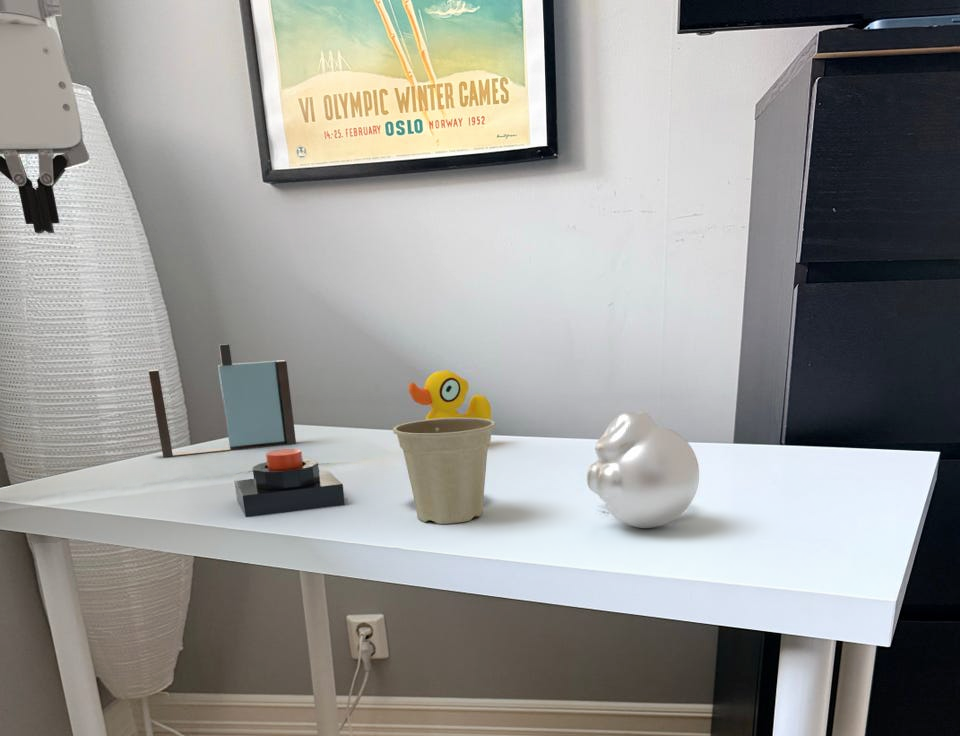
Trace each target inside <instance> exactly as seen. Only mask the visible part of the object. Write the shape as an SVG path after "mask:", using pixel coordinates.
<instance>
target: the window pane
mask: <svg viewBox="0 0 960 736" xmlns="http://www.w3.org/2000/svg"><path fill="white" fill-rule="evenodd" d="M218 348H219V349H218V350H219V356H220V362H221V364H219V365H220V366H219V370H218V372H219V371H220V377H219V379H220V378H221V384H220V386H221V385H222V390H221V392H222V391H223V397H222V399H223V398H224V404H223V406H224V405H225V411H224V413H225V412H226V418H225V420H226V419H227V425H226V427H227V426H228V432H227V434H228V433H229V439H228V441H229V440H230V446H231V447H234V446H244V445H254V444H264V443H274V442H284V433H283V425H282V417H281V409H280V401H279V393H278V384H277V376H276V368H275V362H274V361H275V360H272V361H273V362H265V361H259V362H260V363H252V362H246V363H247V364H238V363H233V362H232V353H231V345H230V344H229V343H222V344H221V343H220V344H218ZM232 364H233V365H232ZM230 446H229V447H230Z"/></svg>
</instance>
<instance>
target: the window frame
mask: <svg viewBox="0 0 960 736" xmlns="http://www.w3.org/2000/svg"><path fill="white" fill-rule="evenodd" d="M273 361H274V362H275V368H276V376H277V384H278V393H279V401H280V409H281V417H282V425H283V433H284V442H274V443H264V444H254V445H244V446H234V447H231V446H230V440H229V433H228V426H227V419H226V412H225V405H224V398H223V391H222V385H221V378H220V371H219V366H220V365H221V364H218V365H217V369H218V370H217V371H218V377H219V384H220V390H221V397H222V404H223V411H224V417H225V423H226V424H225V425H226V430H227V431H226V432H227V438H228V445H229V447H218V448H209V449H199V450H190V451H179V452H173V448H172V443H171V435H170V430H169V423H168V418H167V411H166V405H165V401H164V394H163V388H162V383H161V377H160V376H161V375H160V371H159V369H148V377H149V384H150V389H151V395H152V401H153V406H154V412H155V418H156V424H157V431H158V436H159V442H160V447H161V453H162V458H163V459H164V458H173V457H174V458H175V457H183V456H193V455H194V456H195V455H203V454H205V455H206V454H214V453H222V452H224V453H225V452H232V451H234V452H235V451H243V450H254V449H263V448H264V449H265V448H272V447H273V448H274V447H283V446H291V445H292V446H293V445H297V440H296V430H295V421H294V414H293V404H292V396H291V388H290V379H289V371H288V364H287V362H288V361H287V360H285V359H279V360H277V359H276V360H267V361H264V362H273ZM260 362H261V361H253V362H251V363H260ZM247 363H248V362H239V363H237V364H247ZM233 364H234V363H232V365H233Z"/></svg>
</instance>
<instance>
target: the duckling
mask: <svg viewBox="0 0 960 736" xmlns="http://www.w3.org/2000/svg"><path fill="white" fill-rule="evenodd" d="M469 386H470V385H469V382H468V381H467V380H466V379H465V378H463V377H461V376H460V375H458V374H457V373H455V372H453V371H451V370H449V369H448V370H447V369H445V370H438V371H435V372H433V373H432V374H430V375H429V376H428V377H427V378H426V380H425V382H424V388H421V387H419V386H417V384H416V383H415V382H410V383H409V385H408V392H409V395H410V397H411V399H412V400H413V401H414V402H415V403H417V404H419V405H421V406H430V408H431V410H430V411H429V412H428V414H427V415H426V417H425V419H424V420H430V419H438V418H482V419H489V420H492V407H491V404H490V402H489V401H488V399H487V398H486V397H485V396H484V395H482V394H477V393H476V394H474V395H473V396H472V397H471V399H470V401H469V404H468V406H467V407H468V408H467V411H466V412H464V413H462V414H461V413H459V412H458V411H457V409H458V408H460V407H461V406H462V405H463V403H464V402H465V400H466V397H467V394H468V392H469Z"/></svg>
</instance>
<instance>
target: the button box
mask: <svg viewBox="0 0 960 736" xmlns="http://www.w3.org/2000/svg"><path fill="white" fill-rule="evenodd" d="M302 460H303V466H300V467H296V468H290V469H268V467H267V461H266V462H261V463H258V464H256V465H254V466H252V467H251V468H252V475H253V478H248V479H240V480H234V481H233V483H234V488H235V489H234V490H235V495H236V501H237V504H238V506H239V507H240V509H241V511H242V513H243V515H244V517H245V518H252V517H260V516H268V515H276V514H284V513H291V512H293V513H294V512H300V511H307V510H316V509H317V510H318V509H324V508H332V507H340V506H345V504H346V502H345V493H344V485H343V483H342V482H341V481H340V480H339V479H338V478H337V477H336V476H335V475H333V474H332V473H331V472H330V471H329V470H320V468H319V463H318V462H317V461H316V460H314V459H309V458H308V459H307V458H302Z"/></svg>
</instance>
